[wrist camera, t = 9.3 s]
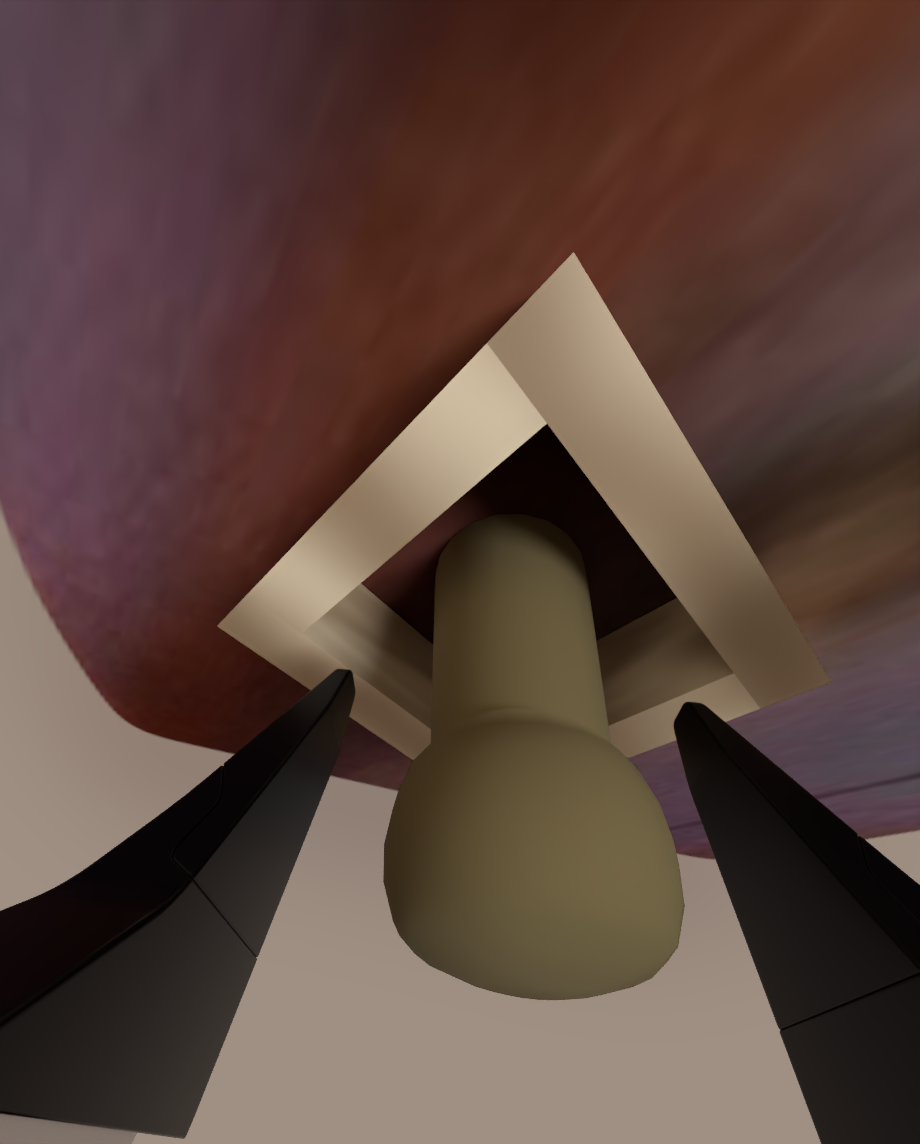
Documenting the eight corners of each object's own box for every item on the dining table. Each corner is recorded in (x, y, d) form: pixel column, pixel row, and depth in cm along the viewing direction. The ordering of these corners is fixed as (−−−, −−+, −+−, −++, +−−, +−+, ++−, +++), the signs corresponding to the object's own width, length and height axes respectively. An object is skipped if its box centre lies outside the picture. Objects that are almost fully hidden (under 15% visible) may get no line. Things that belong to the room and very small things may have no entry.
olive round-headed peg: (537, 657, 17) (591, 1048, 7) (415, 609, 16) (297, 980, 7) (618, 552, 14) (886, 990, 4) (471, 486, 13) (404, 849, 3)
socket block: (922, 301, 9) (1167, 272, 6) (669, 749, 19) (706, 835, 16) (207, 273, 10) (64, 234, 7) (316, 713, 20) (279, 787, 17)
